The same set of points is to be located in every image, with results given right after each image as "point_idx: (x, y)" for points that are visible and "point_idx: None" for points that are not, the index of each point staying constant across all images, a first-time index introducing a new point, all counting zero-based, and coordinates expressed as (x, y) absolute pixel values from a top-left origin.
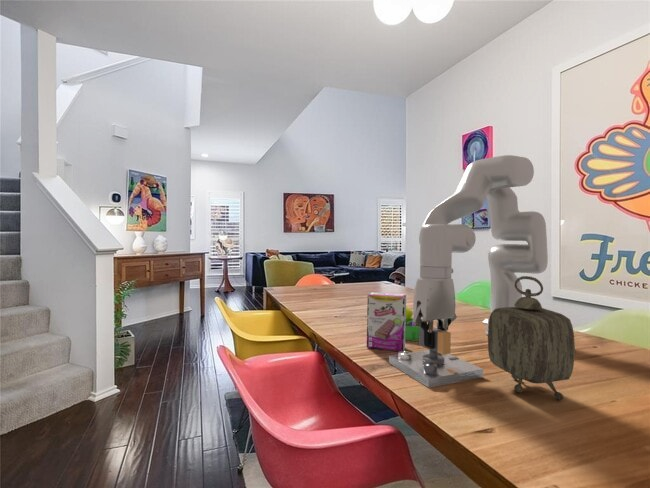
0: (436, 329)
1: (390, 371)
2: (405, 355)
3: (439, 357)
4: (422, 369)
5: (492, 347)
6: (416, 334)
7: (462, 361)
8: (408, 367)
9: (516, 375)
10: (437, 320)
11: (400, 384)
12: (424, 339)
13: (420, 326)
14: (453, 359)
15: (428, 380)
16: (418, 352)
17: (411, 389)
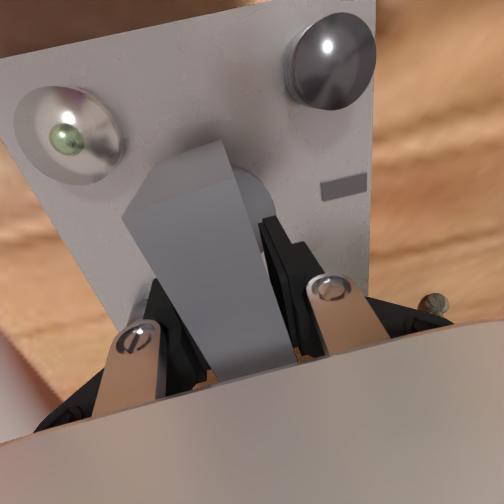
0: (259, 339)
1: (3, 195)
2: (63, 182)
3: (254, 225)
4: (135, 288)
5: None
6: None
7: (355, 223)
8: (76, 260)
9: None
10: (328, 353)
11: (42, 308)
12: (152, 294)
13: (78, 394)
14: (334, 197)
15: None
16: (201, 41)
17: (78, 337)
